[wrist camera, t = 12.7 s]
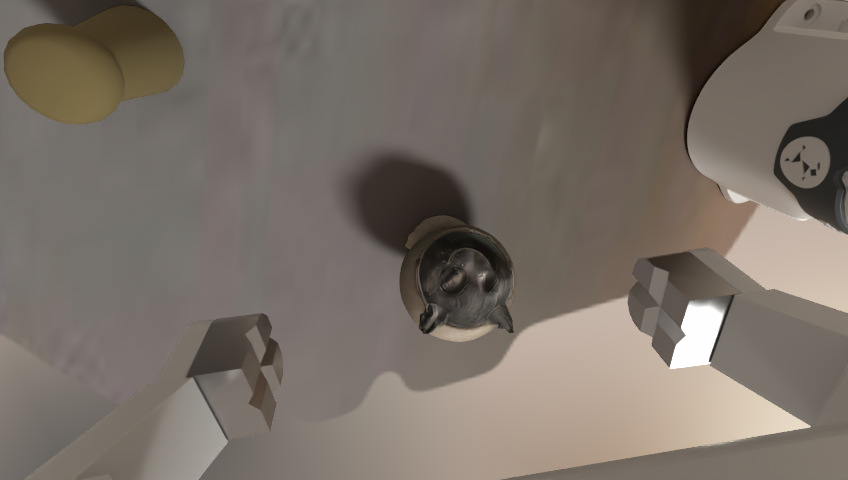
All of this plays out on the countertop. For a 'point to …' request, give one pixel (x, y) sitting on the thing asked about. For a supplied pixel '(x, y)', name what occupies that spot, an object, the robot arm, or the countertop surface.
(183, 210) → the countertop surface
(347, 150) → the countertop surface
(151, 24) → the cork
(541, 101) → the countertop surface
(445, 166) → the countertop surface
